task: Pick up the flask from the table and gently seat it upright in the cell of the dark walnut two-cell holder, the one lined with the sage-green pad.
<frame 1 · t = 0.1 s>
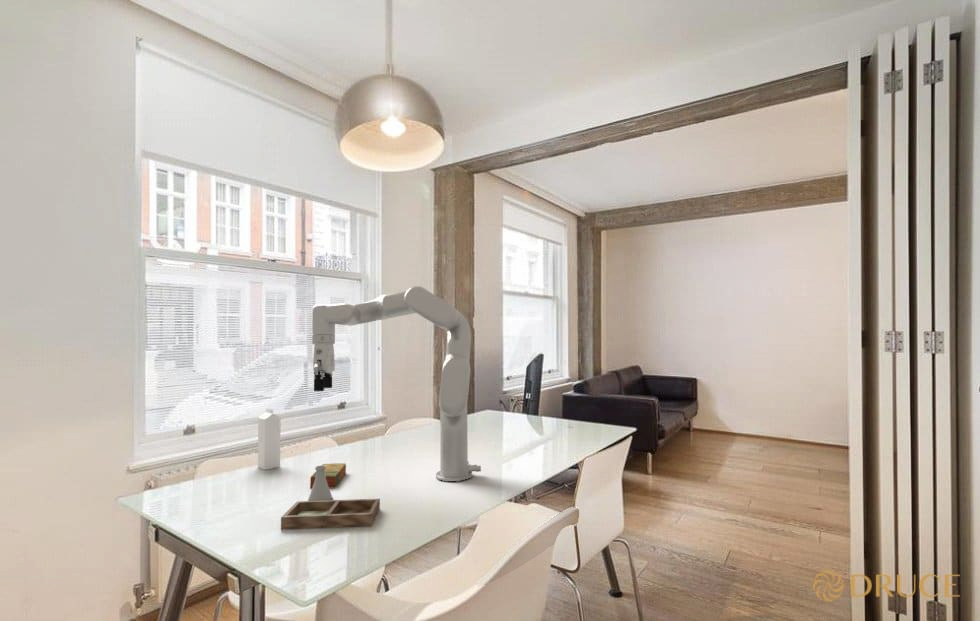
hand: (323, 389, 166), 31 cm above the table, tool pointing down, fingers open, 9 cm apart
carton: (328, 482, 165), on the table
holder: (332, 519, 129), on the table
milk: (269, 467, 183), on the table
flask: (320, 500, 145), on the table
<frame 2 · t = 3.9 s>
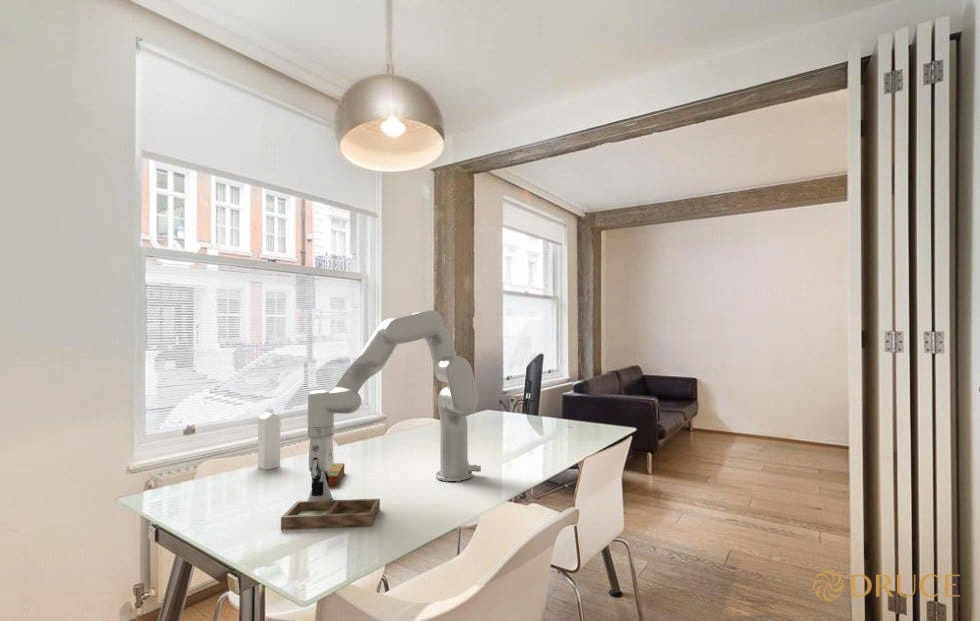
hand: (320, 491, 145), 2 cm above the table, tool pointing down, fingers closed on flask, 4 cm apart
flask: (320, 500, 145), on the table, touching gripper
everything else where it was.
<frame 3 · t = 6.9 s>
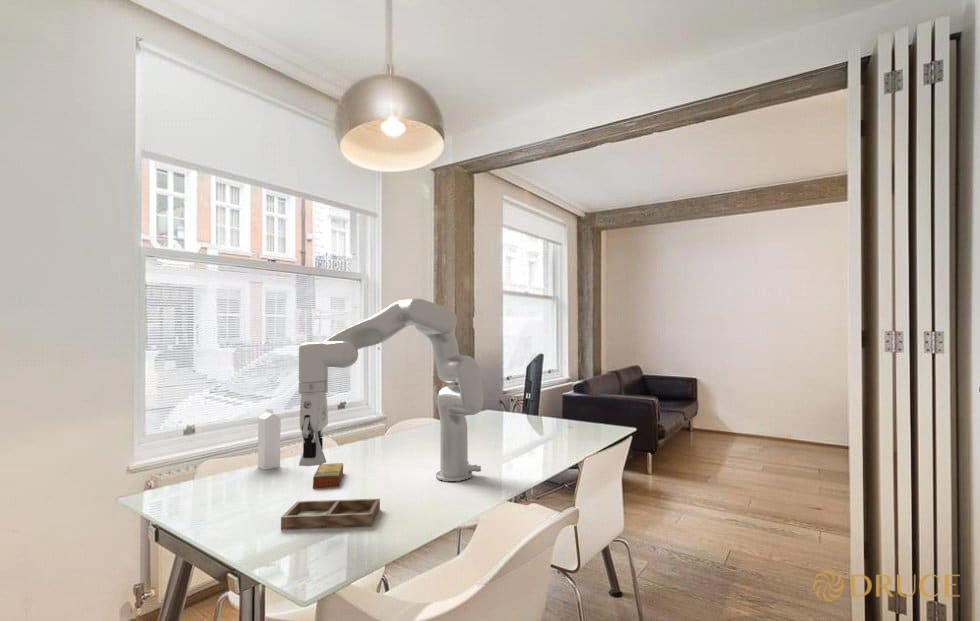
hand: (313, 454, 130), 17 cm above the table, tool pointing down, fingers closed on flask, 4 cm apart
flask: (312, 464, 130), point 15 cm above the table, touching gripper
everything else where it was.
when the fingers open (4 cm above the table, at t = 10.1 s): flask drops 1 cm, resting on holder.
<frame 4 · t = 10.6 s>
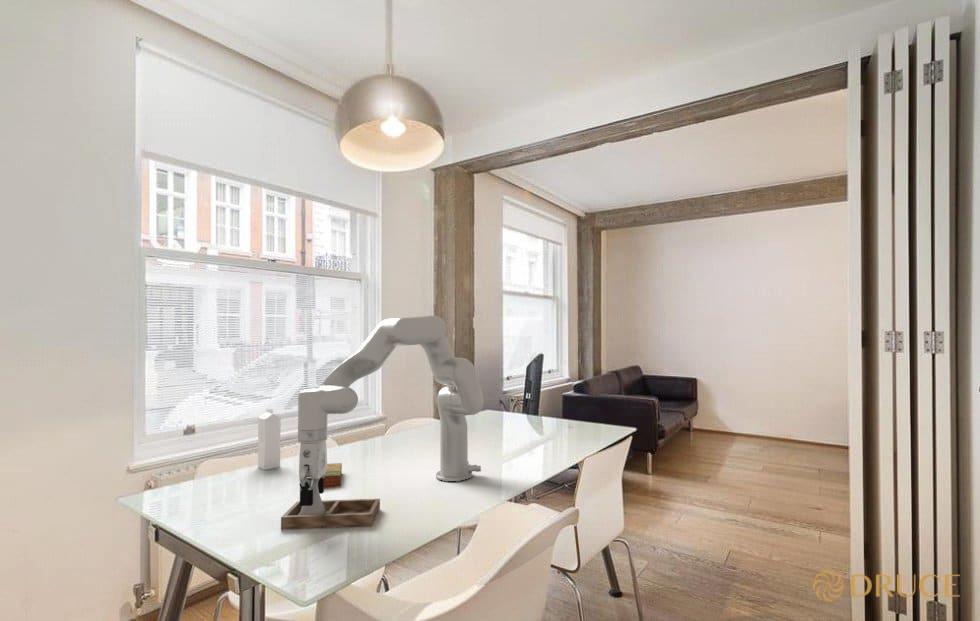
hand: (312, 499, 129), 5 cm above the table, tool pointing down, fingers open, 9 cm apart
flask: (312, 517, 129), point 1 cm above the table, touching holder
everything else where it was.
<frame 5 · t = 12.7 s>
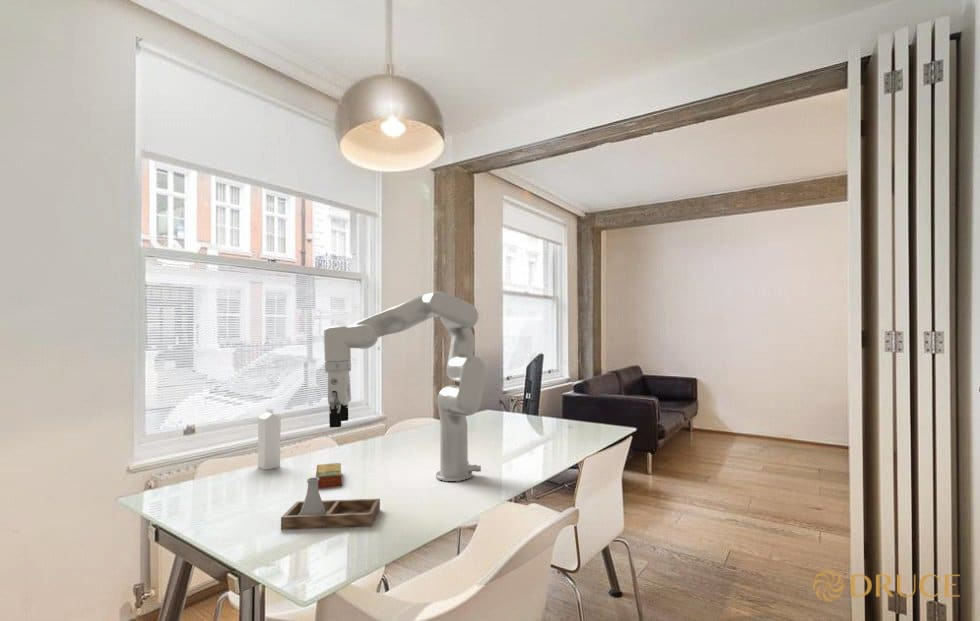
hand: (339, 423, 144), 23 cm above the table, tool pointing down, fingers open, 9 cm apart
nothing on the table moved.
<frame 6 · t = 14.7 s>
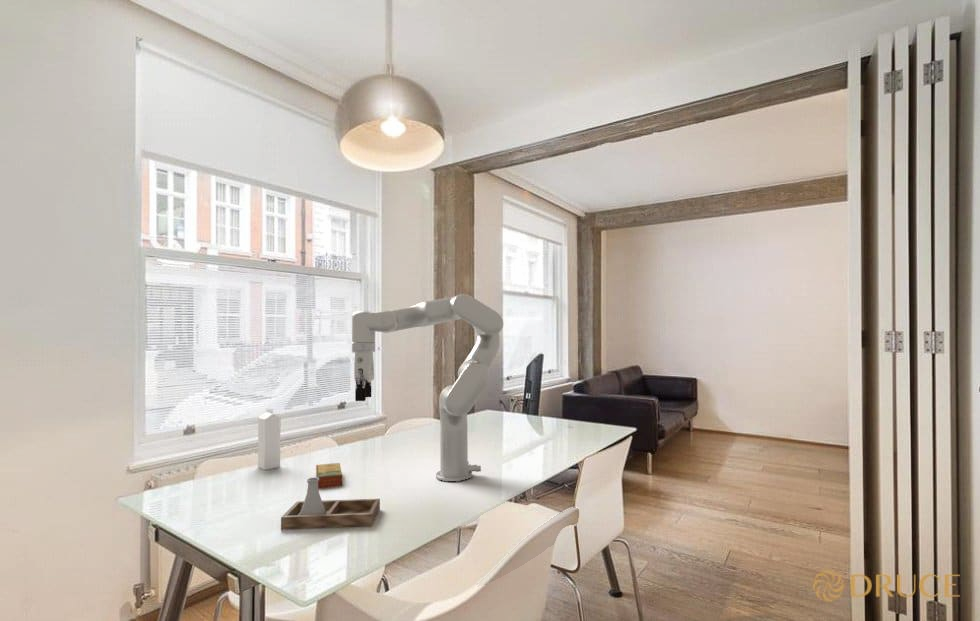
hand: (363, 399, 161), 28 cm above the table, tool pointing down, fingers open, 9 cm apart
at the end: flask 0.2 cm from the target spot on the holder, point 0.6 cm above the holder's base; flask tilted 0°; the gripper is holding nothing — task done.
